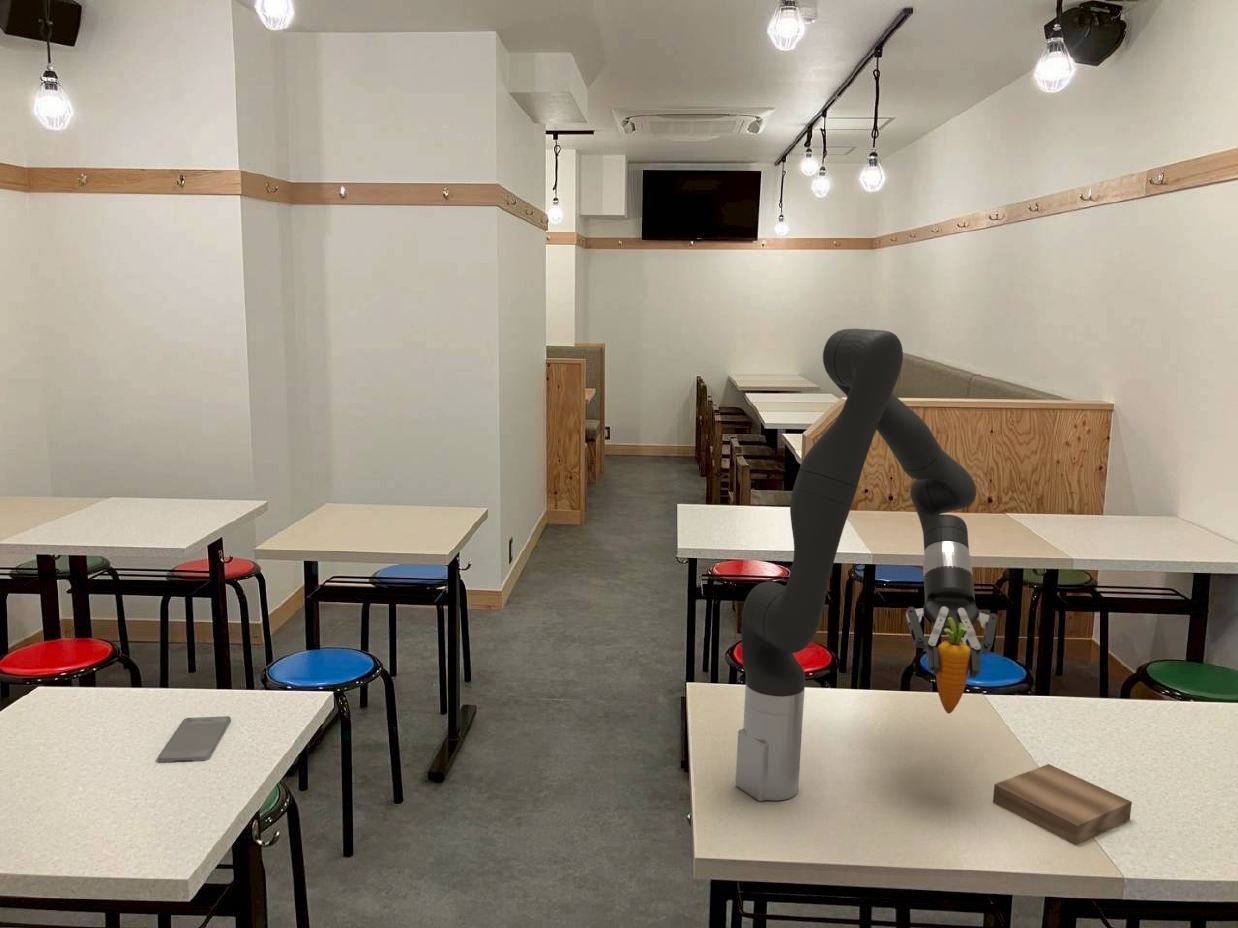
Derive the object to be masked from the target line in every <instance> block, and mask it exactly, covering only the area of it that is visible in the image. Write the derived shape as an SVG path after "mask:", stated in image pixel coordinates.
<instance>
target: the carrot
mask: <svg viewBox="0 0 1238 928" xmlns="http://www.w3.org/2000/svg"><path fill="white" fill-rule="evenodd" d="M948 622H949V625H950V628H951V630H952V632H951V630H949V629H944V631H945V632H946V634H947V635H946V636H947V637H948V639H950V640H943V641H942V642H941V643H940V644H939V645H938V646H937V647H938V661H939V671H938V673H937V675H935V677H936V686H937V693H938V697H939V701H940V703H941V705H942V707H943V709H944V711H945V712H946V713H947V714H951V713H952V712H953V711H954V710H955V709H956V707H957V706H958V705H959V703H960V701H961V699H962V697H963V694H964V692H965V691H964V690H965V688H966V685H967V681H968V677H969V673H970V672H969V666H970V657H971V650H970V648H969V647H968V646H967V645H965V644H964V643H963V641H962V639H961V638H962V636H963V634H964V633H965V631H966V628H964V625H963V624H962V623H959V628H958V636H957V629H956V626H955V623H954V620H953V618H948Z"/></svg>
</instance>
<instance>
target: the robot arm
mask: <svg viewBox="0 0 1238 928" xmlns="http://www.w3.org/2000/svg"><path fill="white" fill-rule="evenodd" d="M903 353H904V352H903V346H902V342H901V340H900V338H899V337H898V335H897V334H895V333H893V332H892V331H888V330H883V329H881V330H880V329H869V328H867V329H866V328H865V329H864V328H846V329H845V328H844V329H840V330H837V331H836V332H834V333H833V334H832V335H831V336H829V338H828V339H827V341H826V343H825V345H824V348H823V352H822V363H823V366H824V370H825V372H826V374H827V375H828V377H829V378H830V380H831V381H832V382H833V383H834V384H835V385H836V386H837V388H838V389H839V390H840V391H841V392H842V393H844V394H845V396H846V399H845V402H844V405H843V407H842V409H841V411H840V413H839V415H838V416H837V418H835V421H834V422H833V423H832V425H831V426H830V427H829V428H828V429H827V430H826V431H825V432H824V433H823V434H822V435H821V436H820V437H819V438H818V440H817V441H816V442H815V443H814V444H813V445H812V447H811V448H810V449H809V451H808V452H807V453H806V455H805V456H804V458H803V460H802V462H801V463H800V467H799V470H798V472H797V475H796V478H795V482H794V485H793V489H792V492H791V496H790V501H789V502H790V503H789V511H790V512H789V513H790V523H791V524H790V525H791V531H792V532H791V533H792V538H793V558H792V566H791V570H790V573H789V576H788V580H787V582H786V584H785V585H783V584H781V583H778V582H775V581H764V582H761V583H758V584H756V585H755V586H754V587H753V588H752V589H750V592H749V593H748V595H747V597H746V598H745V601H744V603H743V604H744V605H743V609H742V615H741V664H742V667H743V670H744V672H745V689H744V690H745V692H744V703H743V704H744V706H743V727H742V728H740V729H738V731H737V748H736V750H737V751H736V765H735V766H736V767H735V769H736V771H735V786H736V787H738V788H739V789H740V790H742V791H744V792H745V793H747V794H748V795H749V796H751V797H752V798H754V799H755V800H757V801H758V802H763V801H783V800H789V799H791V798H793V797H795V796H796V795H797V794H798V793H799V786H800V785H799V784H800V772H801V770H800V768H801V752H802V751H801V750H802V735H803V733H802V732H803V717H804V703H805V690H806V689H805V686H806V672H805V670H804V668H803V666H802V665H801V664H800V662H799V661H798V660H797V658H796V656H795V655H794V654H795V653H799V652H801V651H803V650H805V649H806V648H807V647H808V646H809V645H810V644H811V642H812V641H813V640H814V638H815V637H816V634H817V632H818V630H819V627H820V623H821V621H822V618H823V612H824V607H825V603H826V597H827V593H828V588H829V583H830V579H831V574H832V570H833V567H834V563H835V559H836V555H837V551H838V548H839V546H840V542H841V538H842V535H843V531H844V528H845V525H846V522H847V519H848V516H849V514H850V511H851V508H852V505H853V502H854V498H855V496H856V493H857V489H858V487H859V483H860V478H861V475H862V471H863V469H864V466H865V462H866V459H867V458H868V457H867V456H868V453H869V451H870V448H871V445H872V442H873V439H874V437H875V435H876V431H877V432H878V434H879V435H880V436H881V438H882V439H883V441H884V442H885V443H886V445H887V446H888V448H889V449H890V451H891V452H892V454H893V455H894V457H895V459H896V460H897V461H898V464H899V465H900V467H901V468H902V470H903V471H904V473H905V474H906V475H907V476H908V477H910V478H911V479H914V481H913V482H912V484H911V486H910V491H909V494H910V498H911V501H912V505H913V506H914V509H915V511H916V514H917V516H918V519H919V522H920V525H921V529H922V535H923V537H922V538H923V551H924V552H923V554H924V555H923V565H922V566H923V567H922V569H923V570H922V576H923V584H924V585H923V586H924V605H923V606H922V607H923V608H922V607H921V608H915V607H914V606H909V607H908V608H907V611H906V613H905V616H904V617H905V620H906V623H907V627H908V630H909V633H910V636H911V639H912V642H913V646H914V647H915V648H918V649H920V648H921V649H923V650H924V651H925V652H926V666H927V669H928V671H931V675H935V676H936V675H937V673H938V671H939V661H938V646H937V643H938V640H939V638H940V636H948V635H947V634H946V632H945V631H944V629H949V630H951V628H950V625H949V622H948V618H953V620H954V623H955V626H956V629H957V637H958V628H959V623H962V624H963V625H964V628H966V631H965V633H964V634H963V636H962V638H961V642H962V643H964V644H965V645H967V646H968V647H969V648H970V650H971V657H970V666H969V672H968V673H969V678H970V679H977V675H979V674H980V673H981V670H982V660H981V654H985V655H987V654H989V653H990V650H991V648H992V647H993V643H994V639H995V634H996V628H997V624H998V623H997V622H998V617H999V616H998V615H997V614H996V613H994V612H992V613H991V612H990V614H986V613H983V612H980V611H979V609H978V607H977V606H976V599H975V597H976V596H975V585H974V583H975V582H974V574H973V565H972V564H973V563H972V562H973V561H972V558H971V554H970V549H969V546H970V545H969V536H968V535H969V533H968V526H967V524H966V522H965V520H964V519H962V518H961V517H959V516H958V515H954V514H945V513H950V512H955V511H959V510H963V509H966V508H968V507H969V506H971V505H973V503H974V501H975V499H976V496H977V486H976V483H975V482H974V479H973V476H972V475H970V473H969V472H968V471H967V470H966V469H965V467H963V466H962V465H960V463H959V462H957V461H956V460H954V459H953V458H952V457H951V456H950V455H949V454H948V453H946V452H945V450H943V449H942V448H941V446H940V444H939V443H938V440H937V439H936V437H935V436H934V434H933V432H932V431H931V429H930V427H929V426H928V425H927V424H926V423H925V421H924V420H923V419H922V418H921V417H920V416H919V415H918V414H917V412H915V411H914V410H913V409H911V408H910V406H908V405H907V404H905V403H904V402H903V401H902V400H901V399H900V398H899V397H897V396H896V395H895V394H894V393H893V391H894V389H895V387H896V384H897V381H898V378H899V376H900V373H901V371H902V365H903V360H904V359H903V358H904V354H903ZM923 617H924V618H925V620H926V621H927V622H928V623H929V625H931V627H932V631H931V633H930V635H929V638H928V637H926V636H924V635H925V634H924V633H923V629H922V627H921V621H922V618H923ZM977 621H979V622H980V627H981V628H982V629H984V631H983V638H982V641H981V642H979V639H978V637H977V635H976V631H975V629H974V625H975V623H977ZM951 632H952V630H951Z"/></svg>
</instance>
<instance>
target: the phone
mask: <svg viewBox="0 0 1238 928" xmlns="http://www.w3.org/2000/svg"><path fill="white" fill-rule="evenodd" d="M231 722H232V718H231V716H229V715H227V716H204V717H203V716H202V717H200V716H199V717H186V718H184V719H182V721H181V722H180V724H179V725H178V727H177V729H176V730H175V732H174V733H173V734H172V735H171V737H170V738H169V740H168V741H167V742H166V744H165V746H164V747H163V749H161V752H160V753H159V755H158V757H157V763H159V764H163V763H164V764H165V763H166V764H167V763H169V764H171V763H173V761H176V762H190V761H192V762H207V761H209V760H210V759H211V758H212V756H213V755H214V752H215V751H216V749H217V747H218V746H219V744H220V742H221V740H222V738H223V737H224V735H225V733H226V731H227V729H229V728H228V727H229V726H230V724H231Z"/></svg>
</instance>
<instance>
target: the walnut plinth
mask: <svg viewBox="0 0 1238 928" xmlns="http://www.w3.org/2000/svg"><path fill="white" fill-rule="evenodd" d="M992 803H993V804H995V805H996V804H997V805H998V806H1000V807H1002V808H1004V809H1006V810H1007V811H1009V812H1011V813H1014V814H1015V815H1017V816H1018V817H1021V818H1023V819H1025V820H1027V821H1028V822H1030V823H1032V824H1034V825H1037V826H1039V827H1040V828H1042V829H1044V830H1047V832H1049V833H1052V834H1054V835H1056V836H1057V837H1060V838H1062V839H1064V840H1066V841H1067V842H1069V843H1071V844H1073V845H1075V846H1077V845H1079V844H1081V843H1082V842H1085V841H1087V840H1090V839H1092V838H1094V837H1096V836H1098V835H1100V834H1102V833H1104V832H1106V831H1109V830H1111V829H1113V828H1116V827H1118V826H1120V825H1123V824H1125V823H1126V822H1128V821H1130V819H1131V812H1132V804H1133V801H1132V800H1129V799H1127V798H1125V797H1123V796H1120V795H1118V794H1115V793H1113V792H1112V791H1109V790H1107V789H1105V788H1102V787H1100V786H1098V785H1096V784H1094V783H1091V782H1089V781H1087V780H1085V779H1083V778H1080V777H1078V776H1076V775H1074V774H1071V773H1069V772H1068V771H1065V770H1063V769H1061V768H1058V767H1056V766H1054V765H1052V764H1049V763H1047V764H1045V765H1042V766H1039V767H1037V768H1034V769H1031V770H1028V771H1027V772H1023V773H1021V774H1018V775H1016V776H1012V777H1011V778H1007V779H1004V780H1002V781H1000V782H996V783H994V787H993V797H992Z"/></svg>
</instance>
